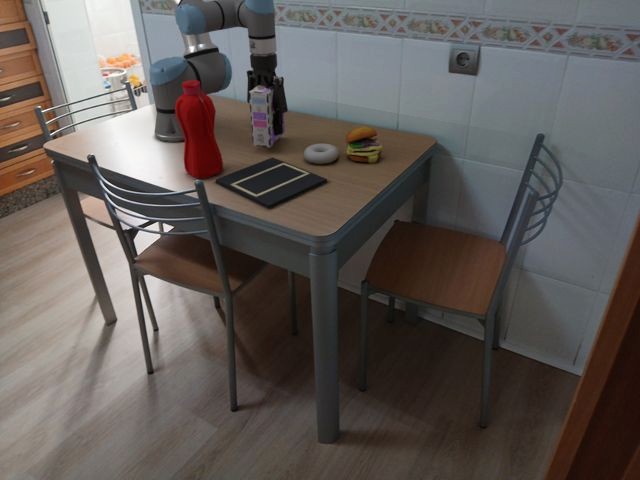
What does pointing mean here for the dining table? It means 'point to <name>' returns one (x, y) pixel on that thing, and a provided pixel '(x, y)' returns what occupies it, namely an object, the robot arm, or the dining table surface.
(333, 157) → the donut
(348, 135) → the cheeseburger
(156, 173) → the dining table surface
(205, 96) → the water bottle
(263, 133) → the candy box
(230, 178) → the placemat
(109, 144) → the dining table surface
